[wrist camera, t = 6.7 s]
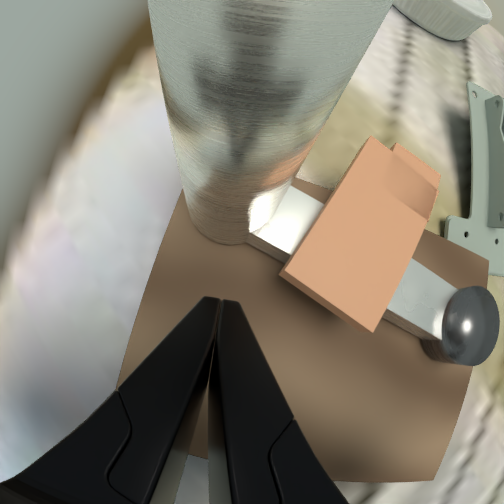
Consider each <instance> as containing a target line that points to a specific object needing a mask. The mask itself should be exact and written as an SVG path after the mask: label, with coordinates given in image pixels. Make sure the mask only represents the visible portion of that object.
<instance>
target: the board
mask: <svg viewBox="0 0 504 504" xmlns="http://www.w3.org/2000/svg"><path fill="white" fill-rule="evenodd" d="M291 186H292V187H294V188H296V189H298V190H300V191H301V192H303V193H305V194H307V195H309V196H310V197H312V198H314V199H316V200H317V201H319V202H321V203H323V204H324V205H325V203H326V202H327V200H328V199H329V197H330V196H331V194H332V192H333V191H331V190H328V189H326V188H323V187H320V186H318V185H315V184H312V183H309V182H307V181H304V180H301V179H298V178H294V180H293V182H292V183H291ZM412 259H414V260H415V261H417V262H418V263H420V264H421V265H423V266H424V267H426V268H427V269H429V270H430V271H432V272H433V273H435V274H436V275H438V276H439V277H440V278H442V279H443V280H445V281H446V282H448V283H449V284H451V285H452V286H453V287H455V288H456V289H460V288H465V287H471V286H482V287H484V288H485V289H487V281H488V271H489V260H487V259H485V258H483V257H481V256H480V255H478V254H476V253H474V252H472V251H470V250H468V249H466V248H464V247H461V246H459V245H457V244H455V243H453V242H451V241H449V240H447V239H445V238H443V237H441V236H438V235H436V234H434V233H432V232H430V231H428V230H425V229H424V231H423V233H422V235H421V238H420V240H419V242H418V244H417V247H416V249H415V251H414V253H413V256H412ZM284 266H285V264H284V263H283V262H281V261H279V260H277V259H275V258H273V257H272V256H270V255H268V254H266V253H264V252H262V251H261V250H259V249H257V248H255V247H253V246H251V245H250V244H248V243H246V242H245V243H241V244H234V245H229V244H221V243H218V242H215V241H212V240H210V239H209V238H207V237H205V236H204V235H203V234H202V233H200V232H199V230H198V229H197V228H196V227H195V225H194V224H193V222H192V220H191V218H190V215H189V211H188V207H187V203H186V199H185V194H184V190H183V189H182V191H181V194H180V196H179V199H178V201H177V204H176V206H175V209H174V211H173V214H172V217H171V219H170V222H169V224H168V227H167V230H166V232H165V235H164V237H163V240H162V243H161V246H160V248H159V251H158V254H157V257H156V259H155V262H154V265H153V268H152V271H151V274H150V277H149V279H148V282H147V285H146V288H145V291H144V294H143V297H142V300H141V303H140V307H139V310H138V313H137V316H136V319H135V322H134V326H133V329H132V332H131V336H130V339H129V342H128V346H127V349H126V353H125V356H124V360H123V363H122V367H121V371H120V374H119V378H118V382H117V386H116V389H115V390H117V391H118V389H117V388H118V387H119V385H120V384H121V383H122V382H123V381H124V380H125V379H126V378H127V377H128V376H129V375H130V374H131V373H132V372H133V370H134V369H135V368H136V367H137V366H138V365H139V364H140V363H141V362H142V361H143V360H144V359H145V358H146V357H147V356H148V354H149V353H150V352H151V351H152V350H153V349H154V348H155V347H156V346H157V345H158V344H159V343H160V342H161V341H162V340H163V338H164V337H165V336H166V335H167V334H168V333H169V332H170V331H171V330H172V329H173V328H174V327H175V326H176V325H177V324H178V322H179V321H180V320H181V319H182V318H183V317H184V316H185V315H186V314H187V313H188V312H189V311H190V310H191V309H192V308H193V307H194V305H195V304H196V303H197V302H198V301H199V300H200V299H201V298H202V297H203V296H210V297H216V298H219V299H220V300H221V301H222V300H223V299H227V300H233V301H238V302H239V303H240V304H241V306H242V309H243V311H244V313H245V315H246V317H247V319H248V321H249V324H250V326H251V328H252V330H253V332H254V334H255V336H256V338H257V341H258V343H259V345H260V347H261V349H262V351H263V353H264V355H265V357H266V359H267V362H268V364H269V366H270V368H271V370H272V372H273V374H274V376H275V378H276V380H277V382H278V384H279V386H280V388H281V390H282V392H283V394H284V396H285V398H286V401H287V403H288V405H289V407H290V409H291V411H292V413H293V415H294V419H296V420H297V422H298V424H299V426H300V428H301V430H302V432H303V434H304V436H305V438H306V440H307V441H308V443H309V445H310V447H311V449H312V450H313V452H314V454H315V456H316V457H317V459H318V460H319V462H320V463H321V465H322V466H323V468H324V469H325V471H326V472H327V474H328V475H329V477H330V478H331V480H332V481H347V482H415V481H430V480H434V477H435V475H436V473H437V471H438V469H439V466H440V464H441V462H442V459H443V457H444V454H445V452H446V450H447V447H448V444H449V442H450V439H451V437H452V434H453V431H454V428H455V426H456V423H457V420H458V417H459V414H460V411H461V408H462V404H463V401H464V398H465V394H466V391H467V387H468V384H469V380H470V376H471V372H472V368H473V366H465V365H457V364H449V363H441V362H437V361H435V360H433V359H432V358H431V357H430V356H429V355H428V354H427V352H426V350H425V348H424V346H423V343H422V339H420V338H419V337H417V336H415V335H413V334H411V333H410V332H408V331H406V330H404V329H402V328H401V327H399V326H397V325H395V324H393V323H392V322H390V321H388V320H386V319H384V318H382V317H381V319H380V321H379V323H378V325H377V326H376V328H375V330H374V332H373V333H369V332H360V331H358V330H357V329H355V328H354V327H352V326H351V325H349V324H348V323H347V322H345V321H344V320H342V319H341V318H339V317H338V316H337V315H335V314H334V313H332V312H331V311H329V310H328V309H327V308H325V307H324V306H322V305H321V304H319V303H318V302H317V301H315V300H314V299H312V298H311V297H309V296H308V295H307V294H305V293H304V292H302V291H301V290H299V289H298V288H297V287H295V286H294V285H292V284H291V283H289V282H288V281H287V280H285V279H284V278H282V277H281V276H280V275H278V274H279V273H280V271H281V270H282V268H283V267H284ZM220 306H221V304H220ZM219 312H220V311H219ZM218 318H219V317H218ZM217 324H218V323H217ZM215 337H216V336H215ZM214 343H215V342H214ZM213 350H214V348H213ZM212 356H213V355H212ZM211 363H212V361H211ZM210 369H211V368H210ZM209 376H210V374H209ZM208 384H209V380H208ZM188 454H190V455H194V456H197V457H201V458H205V459H208V386H207V390H206V394H205V397H204V400H203V404H202V407H201V411H200V414H199V418H198V421H197V424H196V428H195V431H194V435H193V438H192V442H191V445H190V449H189V452H188Z"/></svg>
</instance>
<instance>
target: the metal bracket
mask: <svg viewBox="0 0 504 504" xmlns="http://www.w3.org/2000/svg"><path fill="white" fill-rule="evenodd" d="M466 86H467V95H468V104H469V116H470V131H471V203H470V215H469V218H468V219H465V218H461V217H457V216H453V215H451V216H447V218H446V222H445V232H444V238H445V239H447V240H449V241H451V242H453V243H455V244H457V245H459V246H461V247H464V248H466V249H468V250H470V251H472V252H474V253H476V254H478V255H480V256H481V257H483V258H485V259H487V260H489V271H488V275H496V276H504V98H502V97H501V96H499V95H497V96H496V95H494V94H492V93H490V92H489V91H487V90H485V89H483V88H482V87H480V86H478V85H476V84H474V83H473V82H470V81H469V82H467V84H466ZM472 92H474V93H475V95H476V98H475V97H474V96H473V95H472ZM465 232H466V233H467V236H466V237H465V236H464V233H465ZM495 240H496V244H495Z"/></svg>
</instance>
